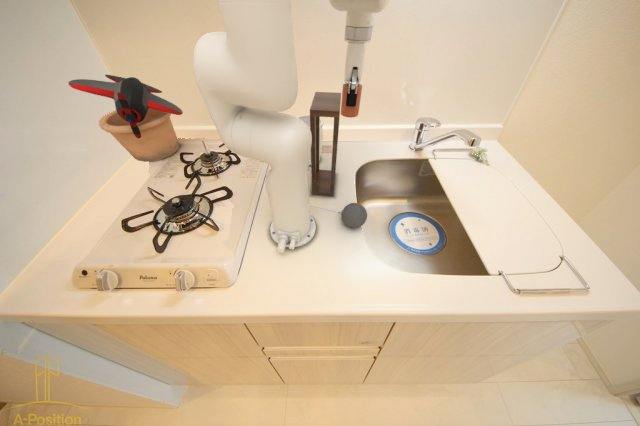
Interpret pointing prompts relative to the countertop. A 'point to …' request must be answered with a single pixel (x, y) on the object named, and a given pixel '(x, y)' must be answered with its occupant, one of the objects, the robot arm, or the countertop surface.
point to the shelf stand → (321, 107)
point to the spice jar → (348, 110)
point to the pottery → (144, 135)
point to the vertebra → (480, 151)
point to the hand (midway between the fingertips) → (350, 101)
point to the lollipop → (353, 215)
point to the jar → (307, 120)
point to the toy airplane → (128, 98)
